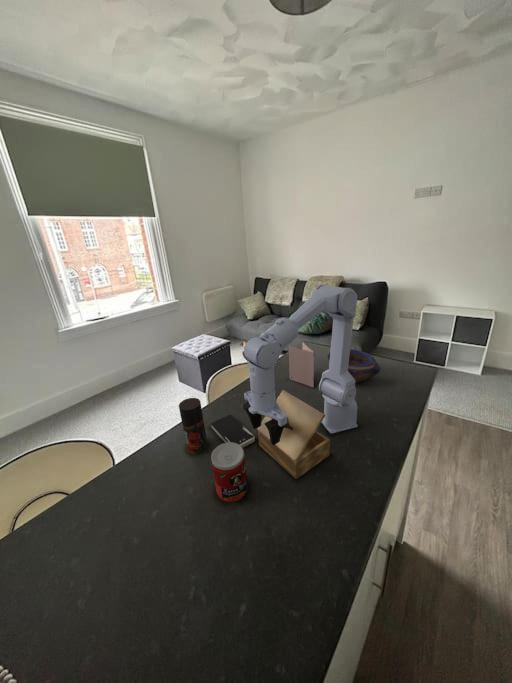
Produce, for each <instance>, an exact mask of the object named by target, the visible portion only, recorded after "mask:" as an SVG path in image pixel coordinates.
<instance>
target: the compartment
mask: <svg viewBox="0 0 512 683" xmlns="http://www.w3.org/2000/svg"><path fill="white" fill-rule="evenodd" d="M257 433H258V434H257V435H258V446H259V447H261V449H262V450H264V451H265V453H267V455H269V456H270V457H271V458H272V459H274V461H275V462H276V463H278V464H279V465H280V466H281V467H282V468H283V469H284V470H285V471H286V472H287V473H289V475H291V477H293V478H294V479H295V480H297V479H298V478H300V477H302V476H303V475H304V474H306V473H307V472H308V471H310V470H311V469H313V468H314V467H315V466H317V465H318V464H320V463H321V462H322V461H324V460H325V459H326V458H328V457H330V455H331V439H330V438H328V437H327V436H326V435H324V434H323V433H321V432H320V431H318V430H316V431H315V433H314V435H313V436H312V438H311V439H310V441H309V443H308V444H307V446H306V447H305V449H304V451H303V452H302V454H301V455H300V457H299V459H298V460H297V462H295V461H294V460H293V459H292V458H291V457H289V456H288V455H287V454H286V453H285V452H283V451H282V450H281V449H280V448H279V447H278V446H276V445H272V444H271V441H270V440H269V439H268V438H267V437H266V436H265V435H264V434H262V433H261V432H260V431H259V430H258V429H257Z"/></svg>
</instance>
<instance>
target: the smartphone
mask: <svg viewBox="0 0 512 683" xmlns="http://www.w3.org/2000/svg"><path fill="white" fill-rule="evenodd" d="M210 427H211V429H212V430H213V431H214V432H215V433H216V435H217V436H219V438H220V439H221V440H222V441H223V443H228V442H232V443H236V444H238V445H240V446H241V447H242V448H243V449H244V448H245V447H247V446H249V445H250V444H253V443H254V442H255V441H256V440H255V439H256V437H255V435H254V434H253V433H252V432H250V430H248V429H247V428H246V427H245V426H244V425H243V424H241V423H240V421H239V420H237V419H236V418H235V417H234V416H233V415H232V414H228V415H226V416H223V417H221V418H219V419H217V420H215V421H212V422H211V424H210Z"/></svg>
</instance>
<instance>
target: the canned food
mask: <svg viewBox="0 0 512 683" xmlns="http://www.w3.org/2000/svg"><path fill="white" fill-rule="evenodd" d="M210 459H211V467H212V472H213V478H214V485H215V490H216V494H217V496H218V498H219V499H220V500H222V501H223V502H225V503H230V504H232V503H236V502H239V501H240V500H242V499H243V498H244V496H245V495H246V494H247V491H248V478H247V476H248V475H247V466H246V457H245V451H244V448H242V447H241V446H240V445H238V444H236V443H232V442H228V443H225V442H223V443H221V444H219V445H217V446H216V447H215V448H214V449H213V450H212V452H211V457H210Z"/></svg>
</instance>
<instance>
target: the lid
mask: <svg viewBox="0 0 512 683" xmlns="http://www.w3.org/2000/svg"><path fill="white" fill-rule="evenodd" d="M276 402H277V404H278V405H279V407H280V408H281V410H282V412H283V413H284V414H285V415H286V416H287V417H288V423H287V424H286V426H285V427H284V429H283V431H282V434H281V438H280V442H278V443H277V444H275V445H276V446H278V447H279V448H280V449H281V450H282V451H283V452H285V453H286V454H287V455H288V456H289V457H291V458H292V459H293V460H294V461H295V462H297V460H298V459H299V457H300V455H301V454H302V452H303V451H304V449H305V447H306V446H307V444H308V443H309V441H310V439H311V438H312V436H313V435H314V433H315V431H318V428H319V426H320V425H321V424H322V423H321V422H322V420H323V419H324V417H325V414H324V412H322V411H319V410H318V409H316V408H315V407H313V406H311V405H309V404H308V403H306V402H305V401H303V400H301V399H299V398H298V397H296V396H294V395H293V394H291V393H289V392H288V391H286V390H285V389H282V391H280V393H279V395H278V397H276ZM270 420H272V418H270V417H267V416H264V418H262V422H261V426H260V427H258V428H256V430H257V431H258V430H259V431H260V432H261V433H262V434H264V435H265V436H266V437H267V438H268V439H269V440H270V435H269V431H268V429H267V427H266V426H265V423H266V422H268V421H270Z"/></svg>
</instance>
